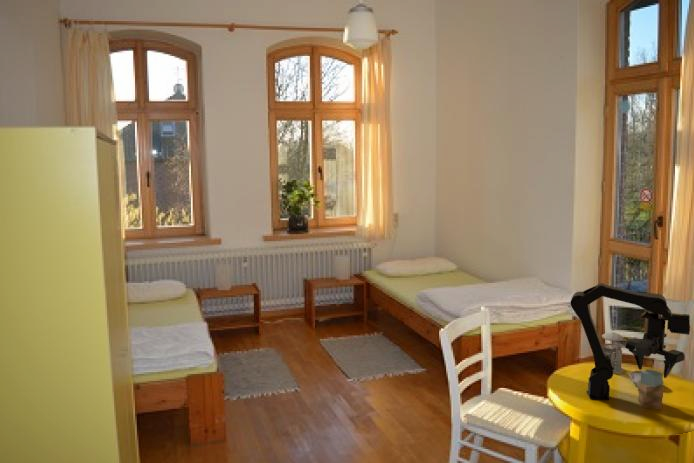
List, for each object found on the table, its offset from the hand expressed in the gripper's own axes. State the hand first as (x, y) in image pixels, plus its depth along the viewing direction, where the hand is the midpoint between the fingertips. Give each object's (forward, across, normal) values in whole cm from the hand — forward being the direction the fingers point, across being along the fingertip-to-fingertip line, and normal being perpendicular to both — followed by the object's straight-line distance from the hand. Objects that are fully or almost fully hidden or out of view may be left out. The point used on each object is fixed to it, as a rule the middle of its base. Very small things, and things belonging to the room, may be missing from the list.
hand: (652, 373), depth 219 cm
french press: (+12, -27, +18) cm, 34 cm away
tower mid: (+8, 0, 0) cm, 8 cm away
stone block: (+12, -12, +16) cm, 23 cm away
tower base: (+12, 0, 0) cm, 12 cm away
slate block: (+4, 0, 0) cm, 4 cm away
